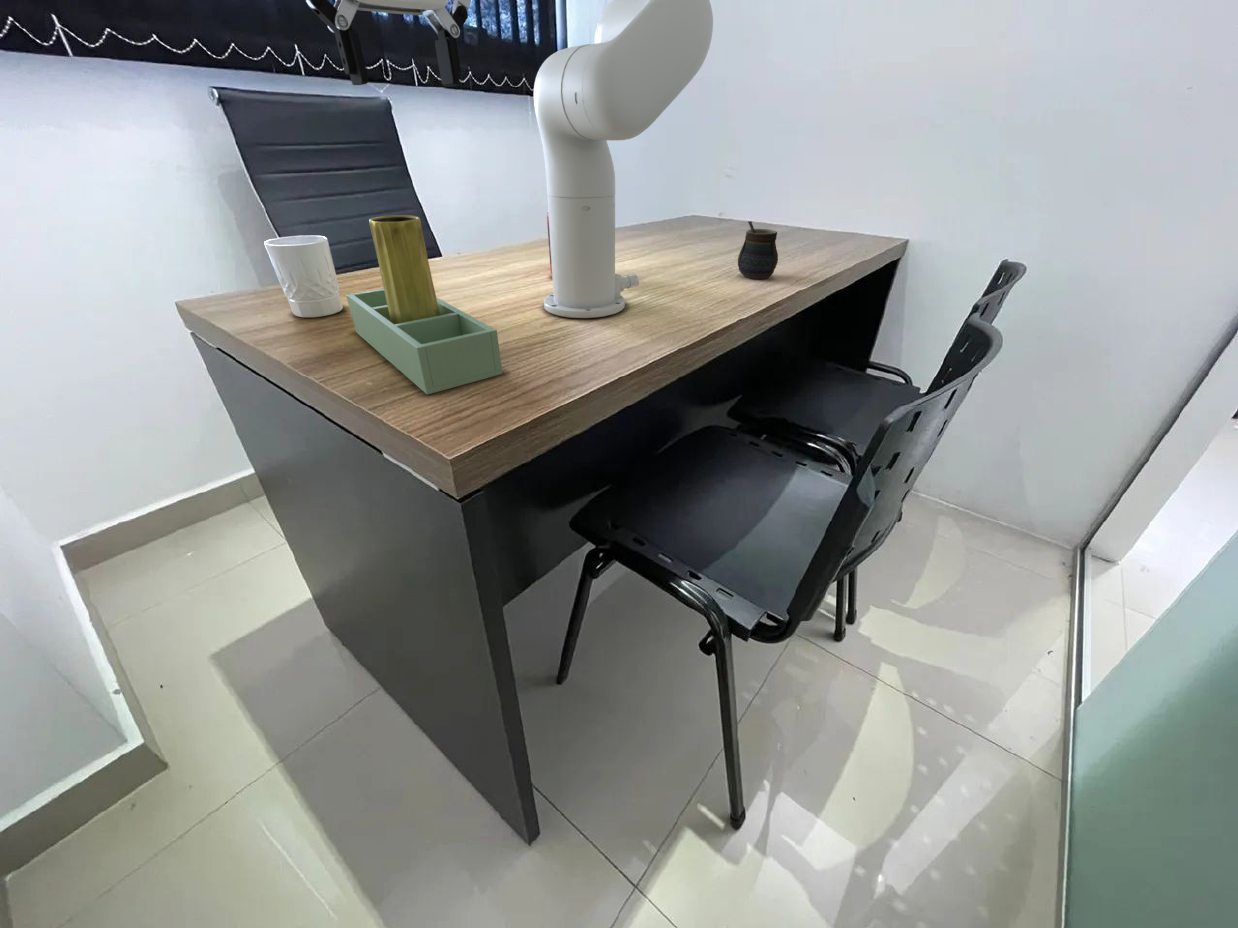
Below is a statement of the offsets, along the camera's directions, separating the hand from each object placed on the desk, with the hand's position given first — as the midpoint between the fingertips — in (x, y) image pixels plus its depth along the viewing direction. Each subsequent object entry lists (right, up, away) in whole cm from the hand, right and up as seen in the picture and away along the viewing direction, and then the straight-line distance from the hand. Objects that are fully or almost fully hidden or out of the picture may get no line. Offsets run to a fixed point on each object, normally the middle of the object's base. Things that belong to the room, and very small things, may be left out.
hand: (408, 85), depth 54 cm
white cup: (-23, -17, +24) cm, 37 cm away
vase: (-2, -25, +10) cm, 27 cm away
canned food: (+13, -4, +43) cm, 46 cm away
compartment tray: (-2, -26, +10) cm, 28 cm away
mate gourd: (+48, -4, +43) cm, 65 cm away
